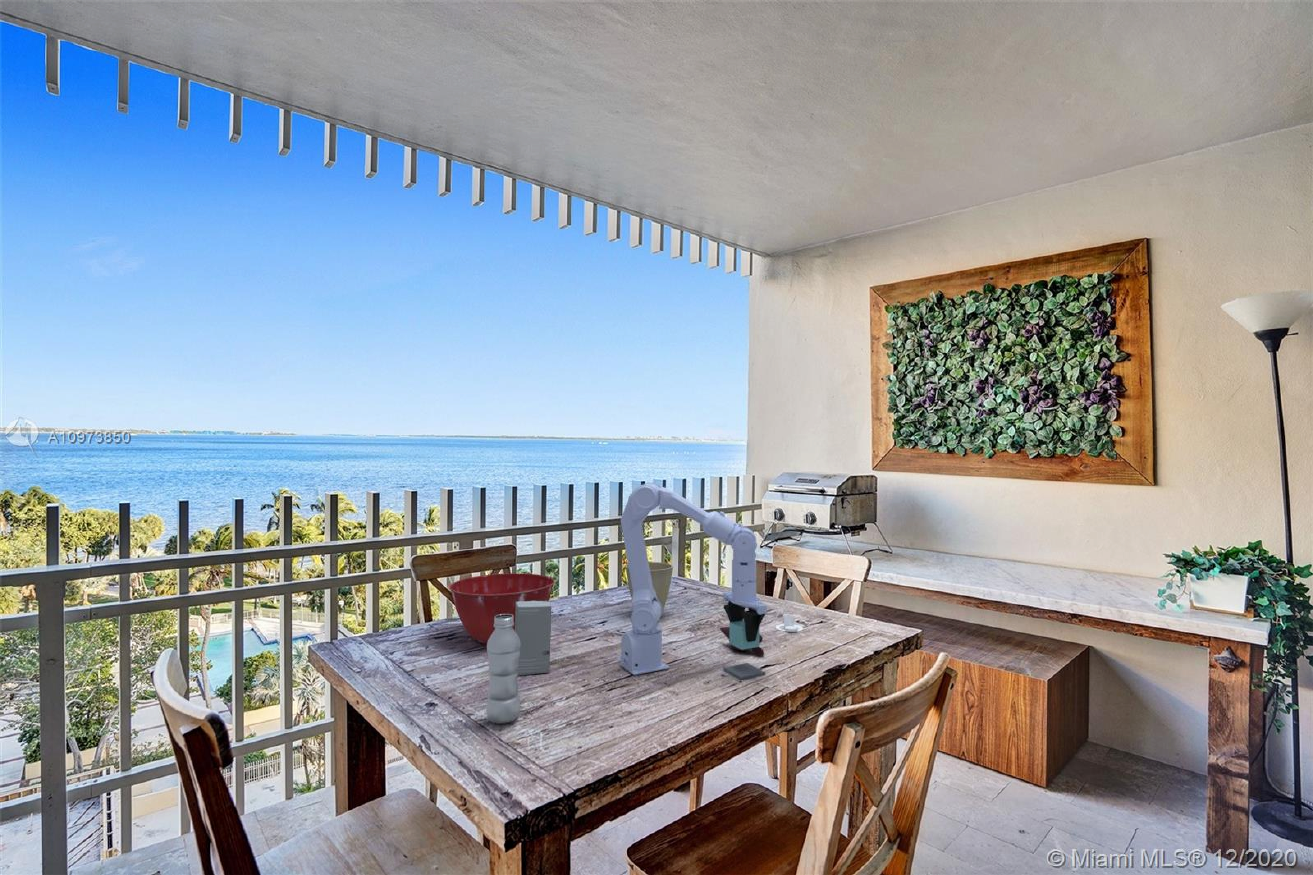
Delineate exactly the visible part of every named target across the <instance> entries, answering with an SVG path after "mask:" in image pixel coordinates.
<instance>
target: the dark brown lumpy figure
mask: <svg viewBox="0 0 1313 875" xmlns="http://www.w3.org/2000/svg"><path fill="white" fill-rule="evenodd" d="M719 630H720V631H721V632H722V634H724V636H725V637H726V638H727V639H728V640H729V632H730V626H725V627H720V628H719ZM762 642H763V636H762V635H761V634H759V644H761V643H762ZM729 646H730V647H731V648H732V649H733V651H741V652H748V651H750V650H751V651H752V652H753V653H754V654H756V656H759V657H763V656H764V655H765V651H764V649H762V647H761V646H759V647H755V648H749V649H744V650H741V649H739V648H737V647H735V646H733V645H731V644H729Z"/></svg>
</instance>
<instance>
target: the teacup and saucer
mask: <svg viewBox="0 0 1313 875" xmlns="http://www.w3.org/2000/svg"><path fill="white" fill-rule="evenodd" d="M782 618H783V623H781V624H777V625H775V627H774V628H775V629H776V630H777V631H778V630H779V631H780V632H787V633H796V632H797V633H798V632H801V631H803V630H804V627H803V626H801V625H799V624H795V615H794V614H790V613H785V614H783V616H782ZM781 627H784V629H782V628H781Z"/></svg>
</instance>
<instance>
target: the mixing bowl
mask: <svg viewBox="0 0 1313 875" xmlns="http://www.w3.org/2000/svg"><path fill="white" fill-rule="evenodd" d="M555 583H556V580H555V579H554V578H553V577H551V576H548V575H543V574H536V573H522V572H521V573H517V572H515V573H514V572H513V573H512V572H511V573H493V574H485V575H477V576H470V577H467V578H464V579H463V578H462V579H459V580H456V581H454V582H453V583H451V584H450V585H449V590H450V592H451V596H452V600H453V601H452V602H453V603H454V604H453V605H454V607H455V609H456V614H457V616H458V617H459V619H460V622H461V625H462V626H463V628H464V629H465V631H466V632H467V634H468V635H469V636H470V637H471V638H472V639H474V640H475V641H478V642H479V643H480V644H483V645H487V643H488V640H489V638H490V636H491V635H492V633H493V632H494V630H495V627H494V618H495V616H496V615H500V614H512V615H513V617H514V618H513V622H514V626H513V627H512V628H513V629H514V631H515V617H516V602H519V601H549V602H550V598H551V595H552V591H553V588H554V587H553V586H554V585H555Z"/></svg>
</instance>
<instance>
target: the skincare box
mask: <svg viewBox="0 0 1313 875" xmlns="http://www.w3.org/2000/svg"><path fill="white" fill-rule="evenodd" d="M551 631H552V605H551V602H550V600H549V601H519V602H516V617H515V632H516V633H517V635H518V637H519V639H520V652H519V659H518V670H517V677H519V676H526V675H527V676H529V675H536V674H548V673H550V670H551V668H550V667H551V666H550V664H551V663H550V662H551V661H550V660H551V637H552V636H551V633H552V632H551Z"/></svg>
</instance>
